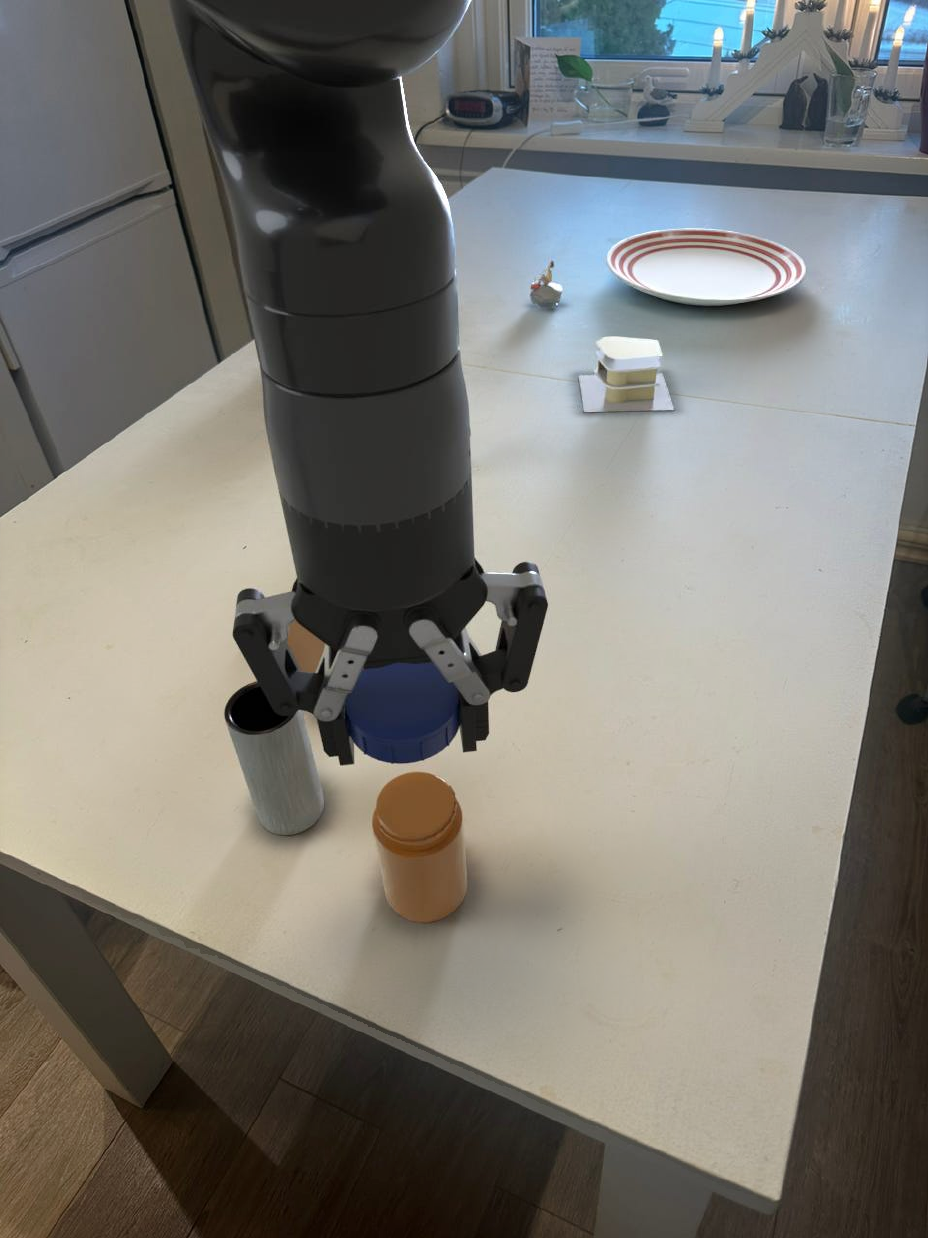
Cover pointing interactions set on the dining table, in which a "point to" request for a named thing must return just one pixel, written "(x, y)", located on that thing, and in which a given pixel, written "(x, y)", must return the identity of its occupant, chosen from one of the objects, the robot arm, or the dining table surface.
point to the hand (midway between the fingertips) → (408, 744)
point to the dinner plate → (705, 266)
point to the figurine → (546, 290)
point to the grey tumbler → (275, 762)
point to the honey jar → (420, 846)
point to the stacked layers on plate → (626, 377)
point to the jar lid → (403, 712)
